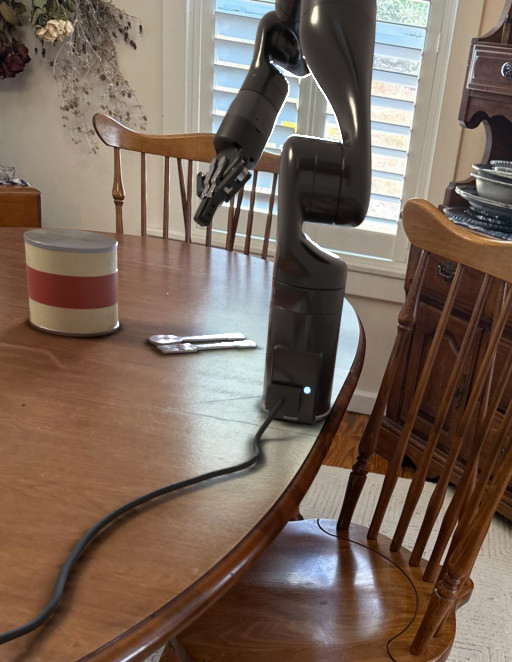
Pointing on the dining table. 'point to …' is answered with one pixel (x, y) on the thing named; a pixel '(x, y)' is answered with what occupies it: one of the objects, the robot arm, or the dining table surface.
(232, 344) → the fork
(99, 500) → the dining table surface
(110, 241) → the coffee tin
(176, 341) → the spoon
